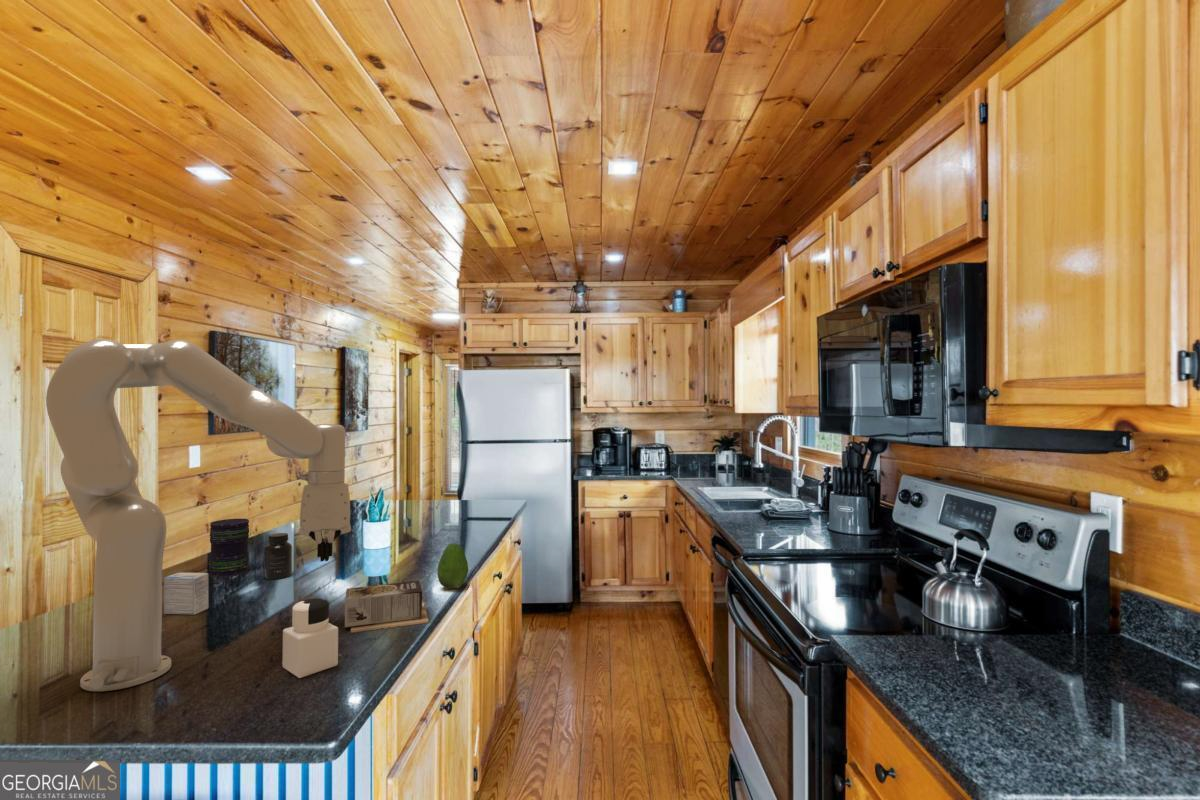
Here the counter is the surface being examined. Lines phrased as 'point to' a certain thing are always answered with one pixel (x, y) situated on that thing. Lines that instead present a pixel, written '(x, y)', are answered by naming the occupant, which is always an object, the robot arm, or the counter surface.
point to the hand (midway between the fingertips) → (324, 559)
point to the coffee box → (383, 603)
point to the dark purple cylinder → (229, 547)
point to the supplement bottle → (278, 557)
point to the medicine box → (186, 593)
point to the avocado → (452, 567)
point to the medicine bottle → (310, 639)
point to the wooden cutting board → (393, 623)
